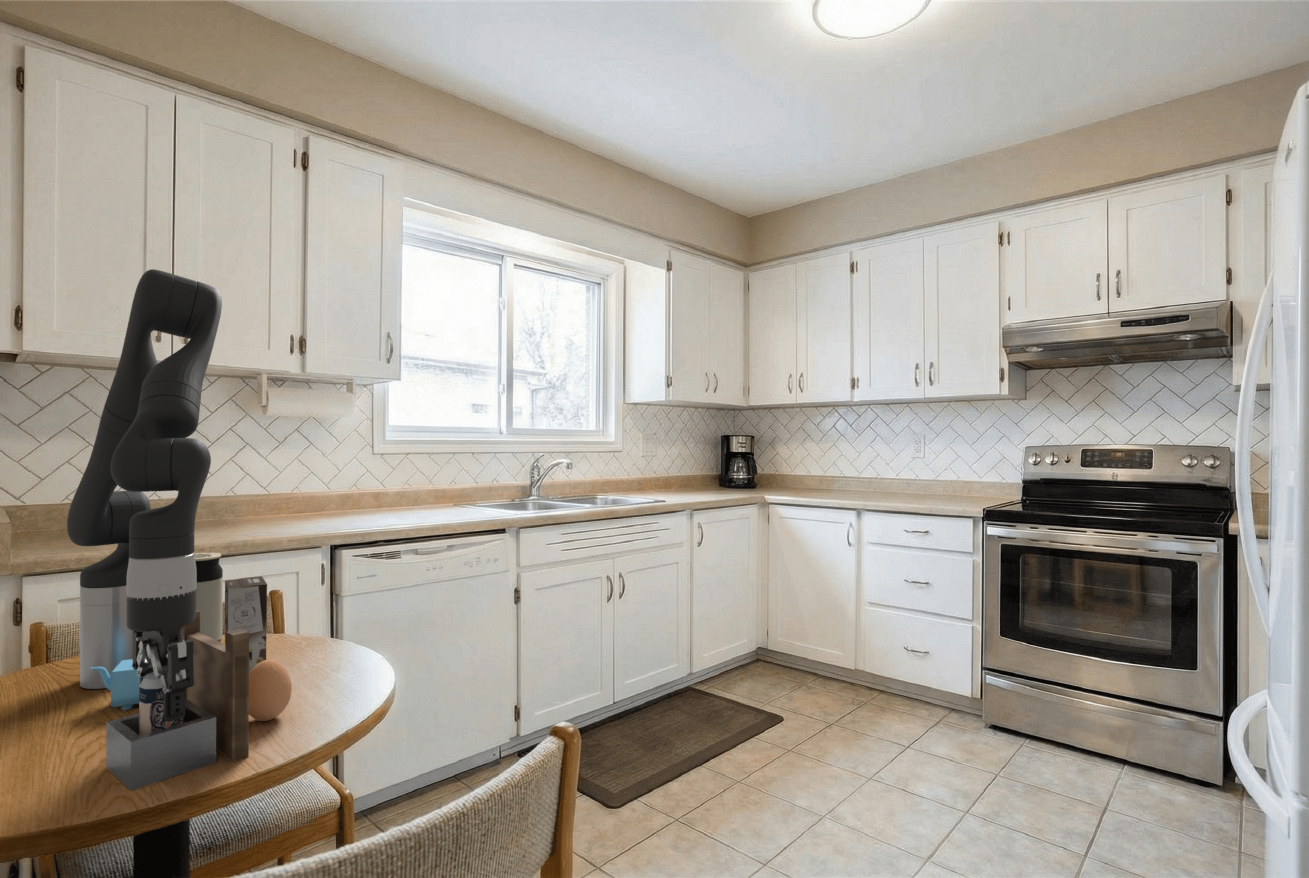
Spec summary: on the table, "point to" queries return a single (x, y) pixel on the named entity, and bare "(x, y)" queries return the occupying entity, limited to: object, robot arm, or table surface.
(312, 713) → the table surface
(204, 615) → the travel mug
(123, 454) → the robot arm
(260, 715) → the egg
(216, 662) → the headboard panel
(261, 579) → the coffee box
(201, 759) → the post bracket
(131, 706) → the teapot
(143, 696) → the beer can
